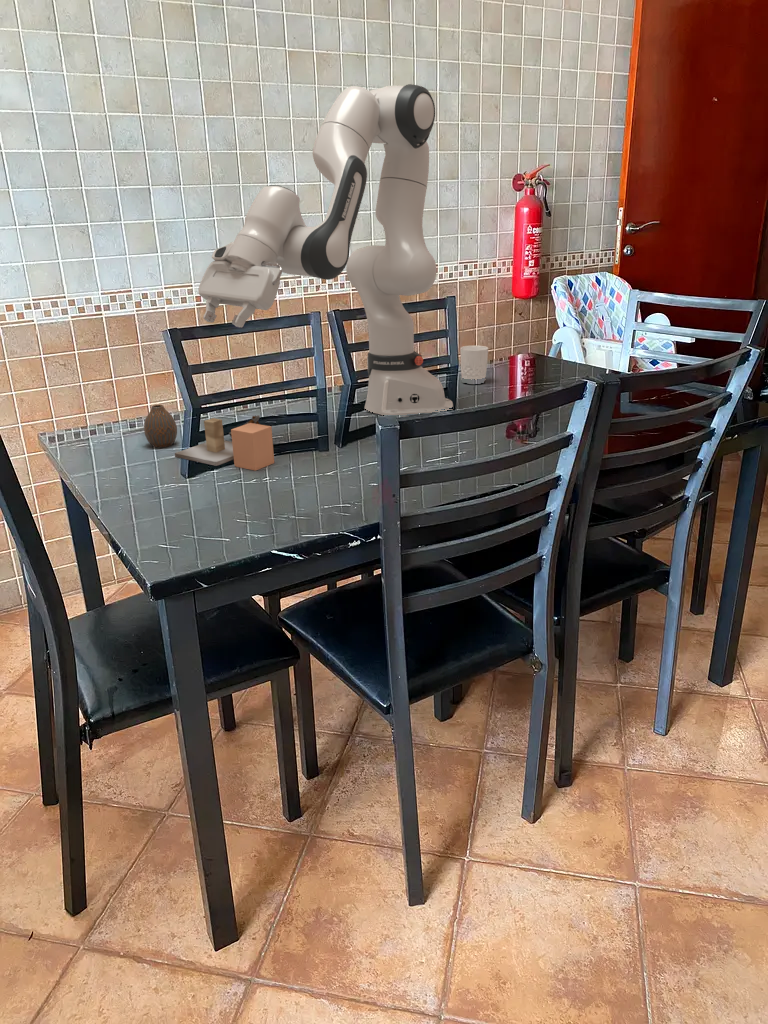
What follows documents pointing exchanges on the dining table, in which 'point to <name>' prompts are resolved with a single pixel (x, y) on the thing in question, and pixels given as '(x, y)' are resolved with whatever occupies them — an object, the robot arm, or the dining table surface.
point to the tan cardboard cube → (252, 446)
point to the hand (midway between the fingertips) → (222, 323)
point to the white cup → (474, 362)
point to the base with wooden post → (210, 446)
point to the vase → (160, 427)
